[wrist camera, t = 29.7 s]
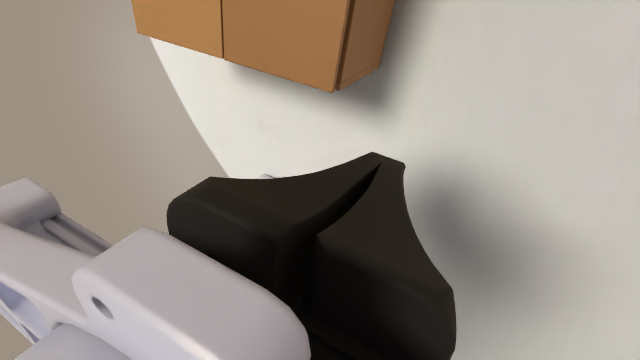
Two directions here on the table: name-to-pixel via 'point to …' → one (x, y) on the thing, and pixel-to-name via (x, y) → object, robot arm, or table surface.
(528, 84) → the table surface
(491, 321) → the table surface
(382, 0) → the carton
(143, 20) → the flap
